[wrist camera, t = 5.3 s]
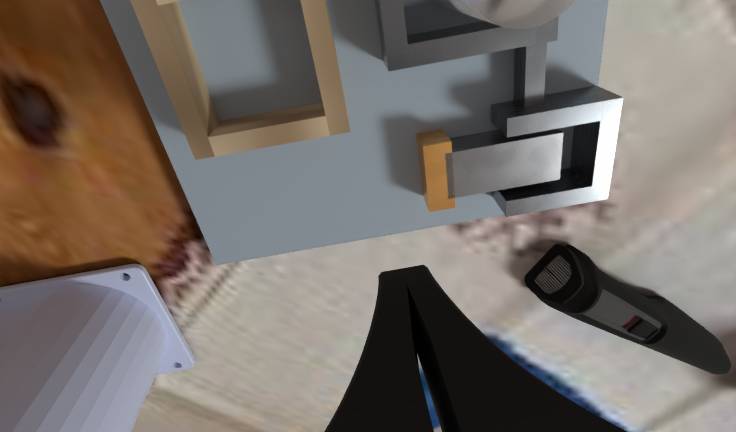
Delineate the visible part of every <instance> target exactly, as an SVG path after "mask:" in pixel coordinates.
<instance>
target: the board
mask: <svg viewBox="0 0 736 432" xmlns="http://www.w3.org/2000/svg"><path fill="white" fill-rule="evenodd" d="M326 1H327V6H328V12H329V17H330V22H331V27H332V33H333V38H334V43H335V48H336V54H337V59H338V64H339V69H340V75H341V80H342V85H343V90H344V96H345V101H346V106H347V111H348V117H349V126H350V132H348V133H342V134H337V135H331V136H326V137H320V138H315V139H309V140H304V141H298V142H293V143H287V144H282V145H276V146H271V147H265V148H260V149H254V150H249V151H243V152H238V153H232V154H227V155H221V156H216V157H210V158H205V159H199V160H195V158H194V156H193V154H192V151H191V149H190V146H189V144H188V141H187V139H186V136H185V134H184V131H183V129H182V126H181V124H180V122H179V119H178V117H177V114H176V112H175V109H174V107H173V104H172V102H171V99H170V97H169V94H168V92H167V90H166V87H165V85H164V82H163V80H162V77H161V75H160V72H159V70H158V67H157V65H156V62H155V60H154V57H153V55H152V53H151V50H150V48H149V45H148V43H147V40H146V38H145V35H144V33H143V30H142V28H141V25H140V23H139V21H138V18H137V16H136V13H135V11H134V8H133V6H132V3H131V1H130V0H100V2H101V4H102V6H103V9H104V11H105V13H106V16H107V18H108V20H109V22H110V25H111V27H112V29H113V31H114V34H115V36H116V38H117V41H118V43H119V45H120V47H121V50H122V52H123V54H124V56H125V59H126V61H127V63H128V66H129V68H130V70H131V72H132V75H133V77H134V79H135V81H136V84H137V86H138V88H139V91H140V93H141V95H142V97H143V100H144V102H145V104H146V106H147V109H148V111H149V113H150V116H151V118H152V120H153V122H154V125H155V127H156V129H157V132H158V134H159V136H160V138H161V141H162V143H163V145H164V147H165V150H166V152H167V154H168V157H169V159H170V161H171V163H172V166H173V168H174V170H175V172H176V175H177V177H178V179H179V182H180V184H181V186H182V188H183V191H184V193H185V195H186V197H187V200H188V202H189V204H190V207H191V209H192V211H193V213H194V216H195V218H196V220H197V223H198V225H199V227H200V229H201V232H202V234H203V236H204V238H205V241H206V243H207V245H208V248H209V250H210V252H211V254H212V257H213V259H214V261H215V263H216V265H221V264H226V263H232V262H238V261H243V260H249V259H255V258H260V257H266V256H272V255H277V254H283V253H289V252H294V251H300V250H306V249H311V248H317V247H323V246H328V245H334V244H340V243H346V242H351V241H357V240H363V239H368V238H374V237H380V236H385V235H391V234H397V233H402V232H408V231H414V230H419V229H425V228H431V227H436V226H442V225H448V224H454V223H459V222H465V221H471V220H476V219H482V218H488V217H493V216H499V215H505V214H504V213H503V211H502V210H501V209H500V207H499V206H498V204H497V203H496V201H495V200H494V199H493V197H492V192H486V193H480V194H475V195H469V196H463V197H458V198H455V206H456V208H450V209H445V210H439V211H433V212H429V210H428V208H427V205H426V202H425V200H424V197H423V193H422V183H421V174H420V165H419V155H418V146H417V137H416V133H421V132H427V131H433V130H438V129H443V130H444V131H445V133H446V134H447V136H448V137H449V138H453V137H458V136H464V135H470V134H475V133H481V132H486V131H492V130H497V129H498V128H497V127H496V126H495V125H494V124H492V123H491V104H496V103H502V102H507V101H513V100H514V49H508V50H503V51H497V52H492V53H487V54H481V55H476V56H470V57H465V58H459V59H454V60H448V61H443V62H438V63H432V64H427V65H421V66H416V67H410V68H405V69H400V70H394V71H388V69H387V68H386V66H385V64H384V62H383V58H382V50H381V43H380V36H379V28H378V21H377V14H376V6H375V0H326ZM178 4H179V7H180V10H181V13H182V16H183V18H184V21H185V24H186V27H187V30H188V33H189V35H190V38H191V41H192V44H193V47H194V50H195V52H196V55H197V58H198V61H199V64H200V66H201V69H202V72H203V75H204V78H205V81H206V83H207V86H208V89H209V92H210V95H211V97H212V100H213V103H214V106H215V109H216V112H217V114H218V117H219V120H220V121H224V120H229V119H235V118H240V117H246V116H251V115H257V114H262V113H268V112H273V111H279V110H284V109H290V108H295V107H300V106H306V105H311V104H317V103H322V102H323V101H322V97H321V92H320V88H319V83H318V79H317V74H316V69H315V65H314V60H313V56H312V51H311V47H310V42H309V37H308V33H307V28H306V24H305V19H304V15H303V10H302V5H301V1H300V0H183V1H178ZM403 4H404V13H405V23H406V32H407V35H412V34H417V33H423V32H428V31H433V30H439V29H444V28H450V27H455V26H460V25H466V24H471V23H476V22H482V21H484V20H481V19H478V18H475V17H472V16H469V15H466V14H463V13H460V12H457V11H454V10H451V9H448V8H445V7H442V6H439V5H436V4H434V3H432V2H431V1H429V0H403ZM607 7H608V0H576V1H575V2H574V3H573V4H572V5H571V6H570V7H569V8H568V9H566V10H565V11H564V12H563V13H562V14H560V15H559V21H558V36H557V41H552V42H547V55H546V73H545V91H544V95H546V94H551V93H557V92H563V91H568V90H574V89H579V88H585V87H590V86H598V82H599V74H600V65H601V57H602V49H603V40H604V32H605V24H606V15H607ZM558 129H559V130H561V131H562V132H564V134H563V146H562V159H561V169H566V168H570V162H571V151H572V141H573V131H574V126H569V127H563V128H558Z"/></svg>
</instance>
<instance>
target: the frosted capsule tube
mask: <svg viewBox="0 0 736 432" xmlns="http://www.w3.org/2000/svg"><path fill="white" fill-rule="evenodd" d="M429 1H431V2H432V3H434V4H436V5H439V6H442V7H445V8H448V9H451V10H454V11H457V12H460V13H463V14H466V15H469V16H472V17H475V18H478V19H481V20H484V21H487V22H490V23H493V24H496V25H499V26H501V27H504V28H510V29H528V28H533V27H537V26H540V25H542V24H545V23H547V22H549V21H551V20H553V19H554V18H556V17H557V16H559V15H560V14H562V13H563V12H564V11H565V10H566V9H568V8H569V7H570V6H571V5H572V4H573V3H574V2H575V1H576V0H429Z"/></svg>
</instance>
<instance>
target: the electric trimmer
mask: <svg viewBox="0 0 736 432" xmlns="http://www.w3.org/2000/svg"><path fill="white" fill-rule="evenodd" d="M525 283H526V286H527V287H528V288H529V289H530V290H531V291H532V292H533V293H534V294H535V295H536V296H537V297H538V298H539V299H540V300H541V301H543V302H544V303H545V304H547V305H548V306H550V307H552V308H554V309H556V310H558V311H561V312H563V313H565V314H567V315H569V316H571V317H573V318H575V319H578V320H580V321H583V322H585V323H588V324H590V325H592V326H595V327H597V328H600V329H602V330H605V331H607V332H609V333H612V334H614V335H617V336H619V337H622V338H624V339H627V340H630V341H632V342H635V343H637V344H640V345H642V346H645V347H647V348H650V349H653V350H655V351H658V352H660V353H663V354H665V355H668V356H670V357H673V358H675V359H678V360H680V361H683V362H685V363H688V364H690V365H693V366H695V367H698V368H700V369H703V370H705V371H708V372H710V373H714V374H726V373H728V372H729V370H730V368H731V363H730V360H729V357H728V355H727V353H726V352H725V350H724V348H723V346H722V344H721V343H720V342H719V340H718V339H717V338H716V337H715V336H714V335H713V334H711V333H710V332H709V331H708V330H706V329H705V328H704V327H703V326H701V325H700V324H699V323H697V322H696V321H695V320H693V319H692V318H691V317H690V316H688V315H687V314H686V313H684V312H683V311H682V310H680V309H679V308H678V307H677V306H675V305H674V304H672V303H671V302H669V301H668V300H666V299H665V298H663V297H661V296H655V297H649V298H647V297H645V296H643V295H642V294H640V293H638V292H636V291H634V290H632V289H631V288H629V287H627V286H625V285H623V284H621V283H620V282H618V281H616V280H614V279H613V278H611V277H610V276H608V275H606V274H605V273H603V272H602V271H601V270H599V269H598V268H597V266H596V265H595V264H594V263H593V261H592V260H591V259H590V258H589V257H588V256H587V255H586V254H585V253H583V252H581V251H580V250H578V249H576V248H575V247H573V246H571V245H566V246H562V245H559V244H556V245H554V246H553V247H552V248H551V249H550V250H549V251H548V252H547V253H546V254H545V255H544V256H543V257H542V258H541V259H540V260H539V262H538V263H537V264H536V265H535V266H534V267H533V268H532V269H531V270H530V271H529V272H528V273H527V274H526V276H525Z"/></svg>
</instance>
